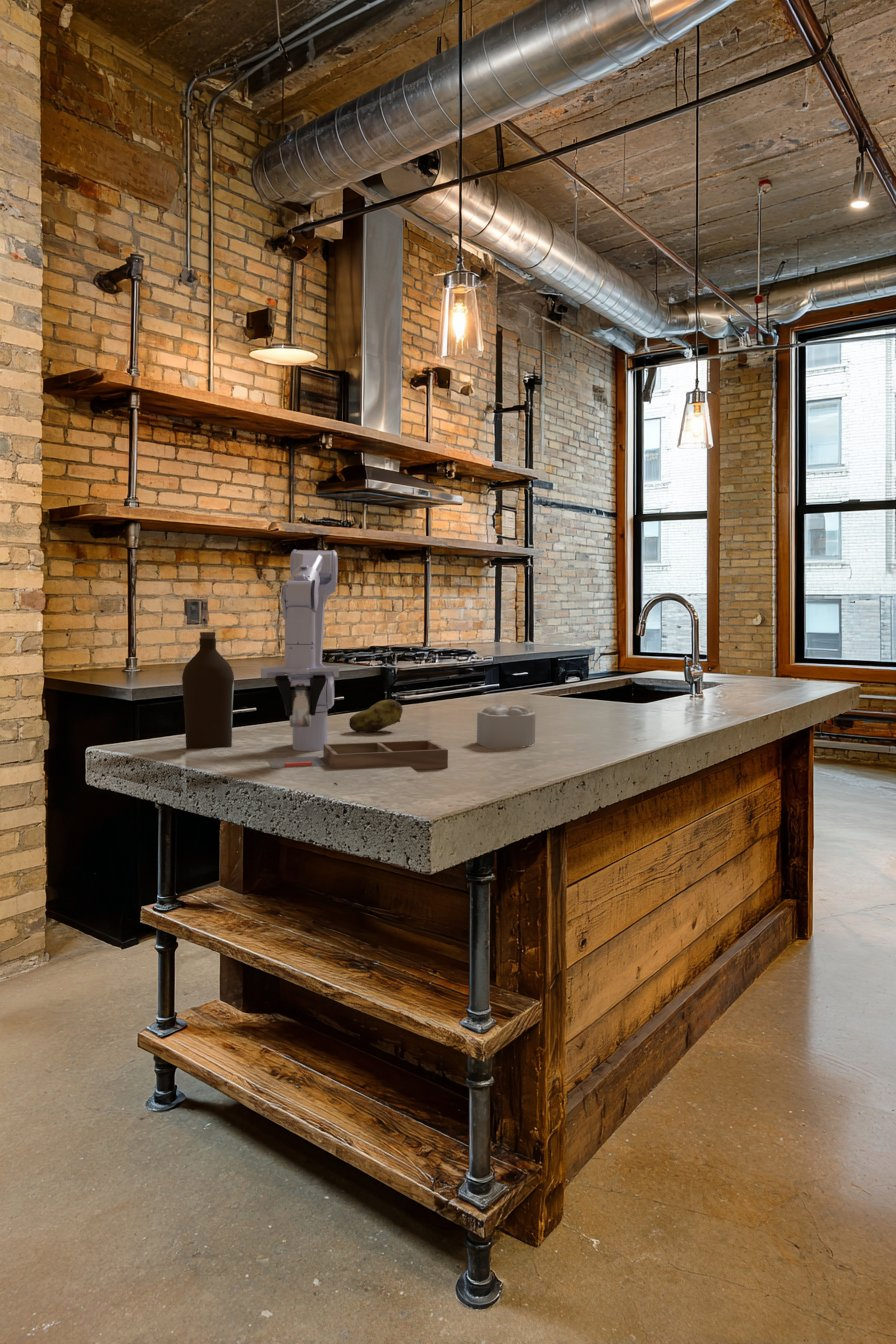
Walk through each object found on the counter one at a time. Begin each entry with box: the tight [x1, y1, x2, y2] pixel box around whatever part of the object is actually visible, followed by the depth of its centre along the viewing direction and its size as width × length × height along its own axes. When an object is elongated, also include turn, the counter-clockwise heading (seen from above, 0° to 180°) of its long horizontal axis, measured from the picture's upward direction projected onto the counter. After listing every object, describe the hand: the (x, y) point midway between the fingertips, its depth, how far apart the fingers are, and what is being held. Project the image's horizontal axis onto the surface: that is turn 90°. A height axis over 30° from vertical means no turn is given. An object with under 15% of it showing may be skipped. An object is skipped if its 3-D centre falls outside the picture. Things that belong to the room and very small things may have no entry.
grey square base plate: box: [266, 755, 327, 769], centre depth 160 cm, size 10×10×2 cm
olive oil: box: [181, 631, 235, 750], centre depth 178 cm, size 11×11×25 cm
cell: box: [289, 684, 311, 728], centre depth 159 cm, size 4×4×8 cm
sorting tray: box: [322, 739, 449, 770], centre depth 163 cm, size 12×22×4 cm, turn 108°
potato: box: [348, 698, 404, 733], centre depth 205 cm, size 8×13×8 cm, turn 90°
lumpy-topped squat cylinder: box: [476, 704, 536, 749], centre depth 189 cm, size 10×13×9 cm
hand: (300, 715), depth 159 cm, fingers closed on cell, 4 cm apart
